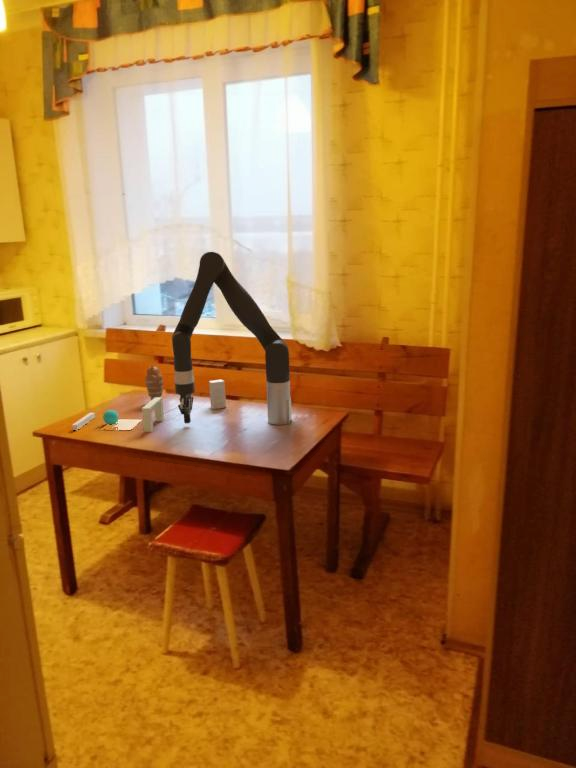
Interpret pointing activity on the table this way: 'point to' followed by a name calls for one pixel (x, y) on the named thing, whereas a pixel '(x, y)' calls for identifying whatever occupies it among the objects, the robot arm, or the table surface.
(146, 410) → the bridge
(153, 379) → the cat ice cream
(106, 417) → the ball
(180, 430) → the table surface
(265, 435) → the table surface
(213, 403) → the skincare box
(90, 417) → the stopper
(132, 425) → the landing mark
